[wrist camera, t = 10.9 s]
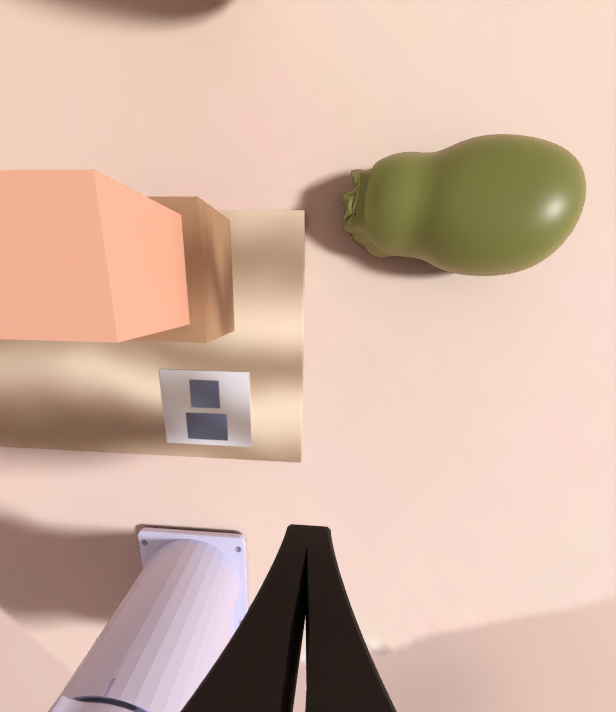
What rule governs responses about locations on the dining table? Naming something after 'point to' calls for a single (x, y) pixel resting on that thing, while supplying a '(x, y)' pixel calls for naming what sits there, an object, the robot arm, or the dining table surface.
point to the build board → (179, 370)
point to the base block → (202, 273)
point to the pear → (469, 204)
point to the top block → (87, 259)
